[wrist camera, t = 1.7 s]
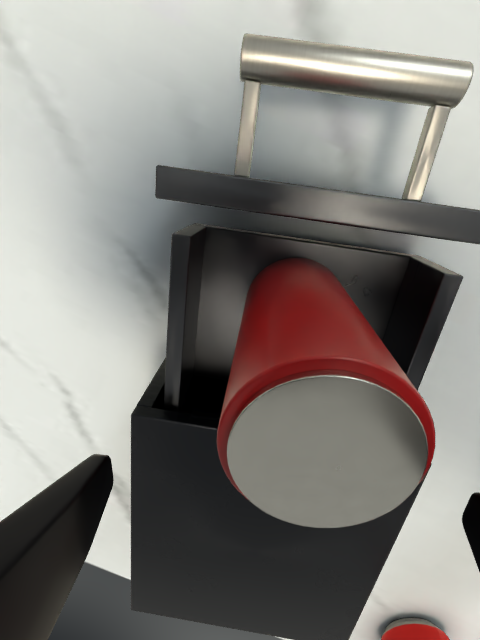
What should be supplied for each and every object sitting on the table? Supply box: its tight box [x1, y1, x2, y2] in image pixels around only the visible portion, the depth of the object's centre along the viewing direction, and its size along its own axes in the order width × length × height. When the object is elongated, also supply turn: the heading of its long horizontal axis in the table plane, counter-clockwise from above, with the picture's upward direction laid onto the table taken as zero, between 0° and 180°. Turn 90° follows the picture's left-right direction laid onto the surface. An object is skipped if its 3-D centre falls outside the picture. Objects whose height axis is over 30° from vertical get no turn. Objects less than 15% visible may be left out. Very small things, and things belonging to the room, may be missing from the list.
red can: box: [217, 258, 435, 528], centre depth 13 cm, size 5×5×11 cm
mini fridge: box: [131, 358, 431, 640], centre depth 22 cm, size 17×15×7 cm
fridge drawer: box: [155, 34, 480, 419], centre depth 17 cm, size 20×13×5 cm, turn 173°
